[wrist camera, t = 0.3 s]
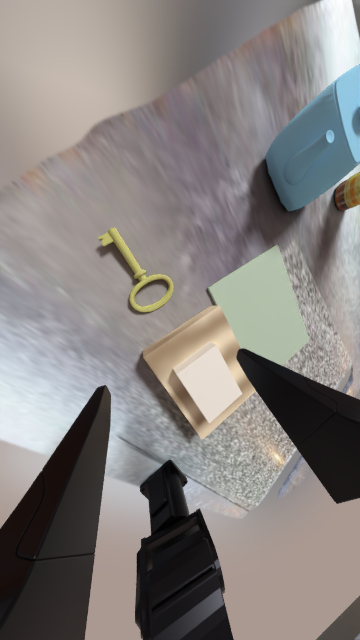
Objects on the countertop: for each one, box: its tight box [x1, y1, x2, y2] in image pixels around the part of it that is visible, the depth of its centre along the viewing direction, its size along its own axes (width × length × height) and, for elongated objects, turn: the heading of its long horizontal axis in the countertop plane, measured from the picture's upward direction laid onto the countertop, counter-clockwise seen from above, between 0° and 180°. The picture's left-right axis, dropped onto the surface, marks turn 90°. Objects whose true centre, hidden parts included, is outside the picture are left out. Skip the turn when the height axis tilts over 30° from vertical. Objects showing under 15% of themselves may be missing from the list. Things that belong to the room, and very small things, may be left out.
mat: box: [207, 244, 310, 366], centre depth 29 cm, size 24×18×1 cm
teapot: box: [266, 64, 360, 211], centre depth 22 cm, size 12×18×12 cm
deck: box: [143, 306, 256, 440], centre depth 24 cm, size 18×14×3 cm
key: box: [98, 228, 174, 312], centre depth 20 cm, size 7×12×2 cm, turn 52°
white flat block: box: [173, 342, 242, 423], centre depth 21 cm, size 10×7×2 cm
